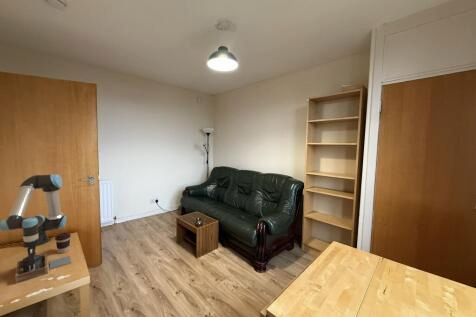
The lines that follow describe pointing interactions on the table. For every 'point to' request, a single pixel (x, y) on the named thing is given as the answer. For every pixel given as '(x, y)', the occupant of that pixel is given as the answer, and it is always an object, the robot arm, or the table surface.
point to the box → (36, 260)
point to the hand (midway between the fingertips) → (32, 268)
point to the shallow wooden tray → (30, 274)
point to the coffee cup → (63, 242)
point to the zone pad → (60, 262)
